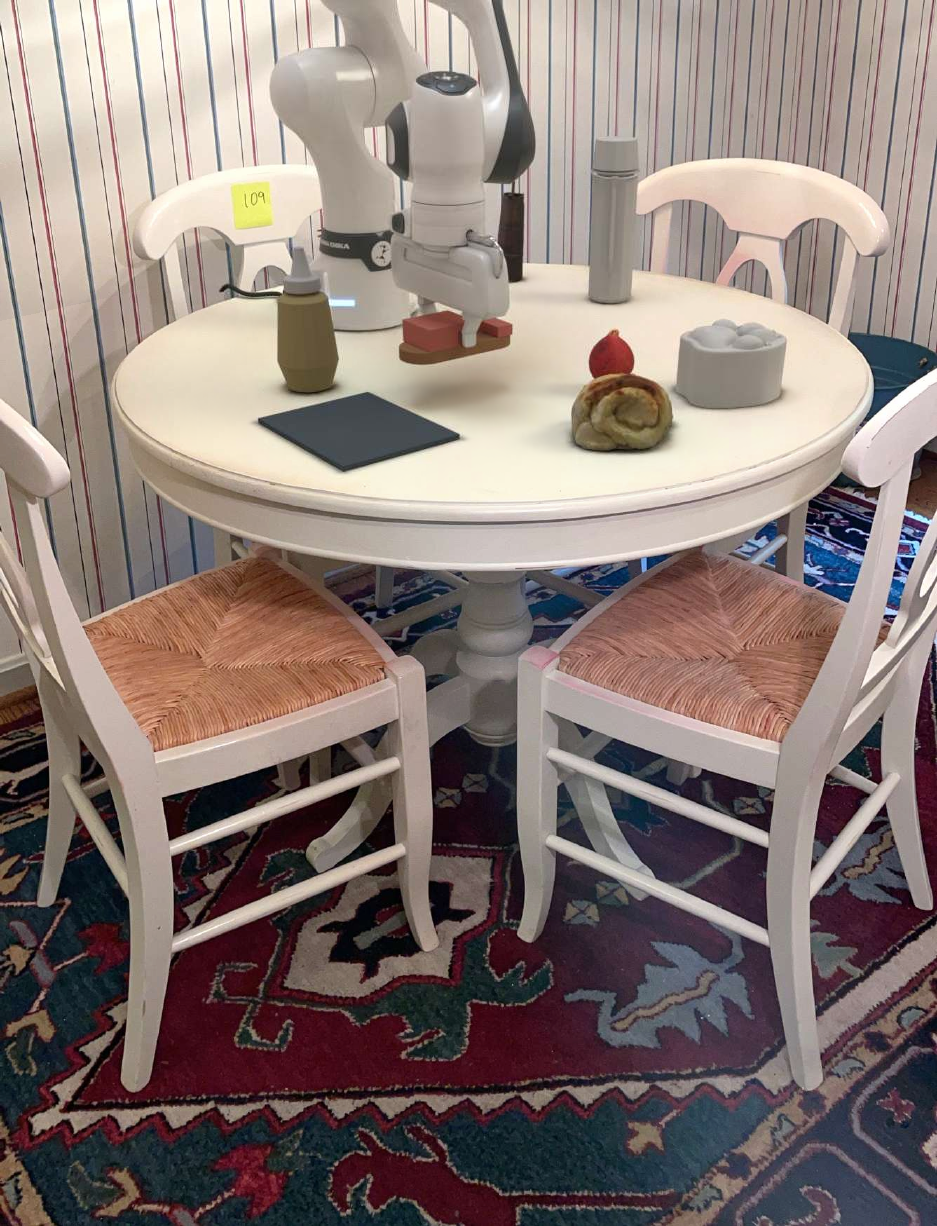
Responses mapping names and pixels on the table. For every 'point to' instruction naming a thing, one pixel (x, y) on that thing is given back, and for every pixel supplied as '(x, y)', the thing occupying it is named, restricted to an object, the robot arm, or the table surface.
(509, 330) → the slipper
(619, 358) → the onion
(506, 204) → the butter churn
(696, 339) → the lumpy-topped squat cylinder
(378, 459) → the mat
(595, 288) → the water bottle
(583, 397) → the pastry
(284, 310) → the squeeze bottle
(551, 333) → the table surface
